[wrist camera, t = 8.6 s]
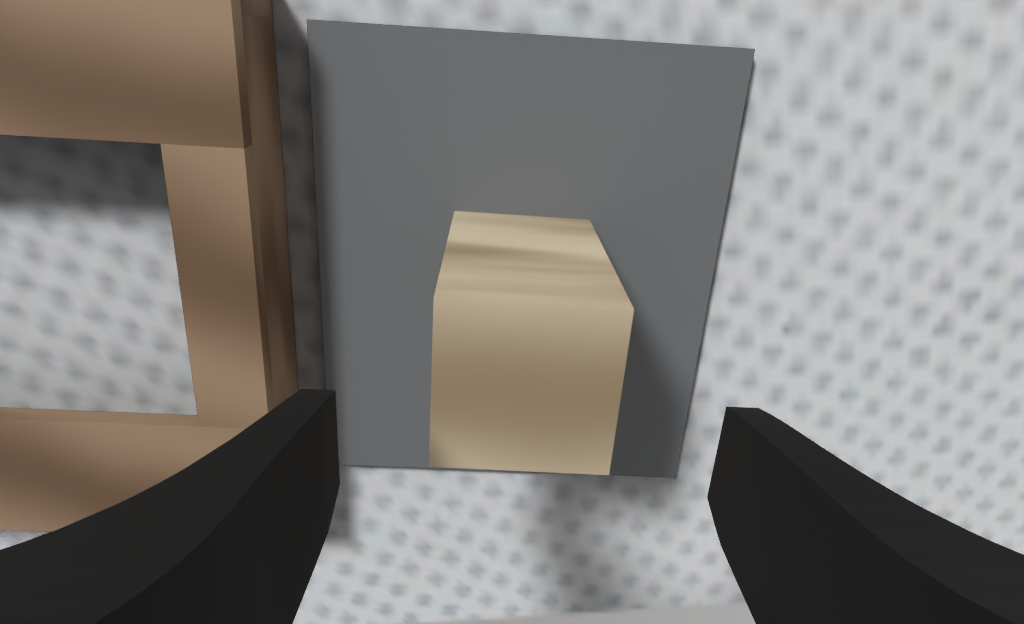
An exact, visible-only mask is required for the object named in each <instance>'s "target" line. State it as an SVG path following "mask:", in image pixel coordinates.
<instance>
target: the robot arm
mask: <svg viewBox="0 0 1024 624" xmlns="http://www.w3.org/2000/svg"><path fill="white" fill-rule="evenodd" d="M339 485H340V478H339V456H338V433H337V411H336V390H316V389H301V390H299V391H298V392H296V393H295V394H293V395H292V396H290V397H289V398H287V399H286V400H285V401H283V402H282V403H281V404H279V405H278V406H276V407H275V408H274V409H272V410H271V411H270V412H268V413H267V414H265V415H264V416H263V417H261V418H260V419H259V420H257V421H256V422H254V423H253V424H251V425H250V426H249V427H247V428H246V429H244V430H243V431H242V432H240V433H239V434H237V435H236V436H235V437H233V438H232V439H230V440H229V441H227V442H226V443H224V444H222V445H221V446H219V447H218V448H216V449H215V450H213V451H211V452H210V453H208V454H207V455H205V456H204V457H202V458H200V459H199V460H197V461H196V462H194V463H193V464H191V465H189V466H188V467H186V468H185V469H183V470H181V471H179V472H178V473H176V474H174V475H172V476H171V477H169V478H167V479H165V480H163V481H162V482H160V483H158V484H156V485H154V486H152V487H150V488H148V489H146V490H144V491H142V492H140V493H138V494H136V495H135V496H133V497H131V498H129V499H126V500H124V501H122V502H120V503H118V504H116V505H113V506H111V507H109V508H106V509H104V510H102V511H99V512H97V513H95V514H93V515H90V516H88V517H86V518H83V519H81V520H79V521H76V522H74V523H72V524H69V525H67V526H65V527H62V528H60V529H57V530H55V531H52V532H50V533H47V534H44V535H41V536H39V537H36V538H33V539H31V540H28V541H25V542H23V543H20V544H17V545H14V546H11V547H8V548H5V549H2V550H0V624H292V623H293V621H294V618H295V616H296V613H297V611H298V608H299V606H300V603H301V601H302V598H303V595H304V593H305V590H306V588H307V585H308V583H309V580H310V578H311V575H312V573H313V570H314V568H315V565H316V562H317V560H318V557H319V555H320V552H321V549H322V547H323V544H324V542H325V539H326V536H327V534H328V530H329V526H330V523H331V519H332V515H333V511H334V507H335V502H336V498H337V494H338V489H339ZM707 498H708V501H709V505H710V509H711V513H712V516H713V520H714V524H715V527H716V530H717V534H718V537H719V540H720V543H721V546H722V549H723V551H724V553H725V556H726V558H727V560H728V563H729V565H730V567H731V569H732V572H733V574H734V576H735V578H736V581H737V583H738V585H739V587H740V590H741V592H742V594H743V596H744V598H745V601H746V603H747V605H748V607H749V609H750V612H751V614H752V616H753V618H754V620H755V623H756V624H1024V555H1023V554H1020V553H1018V552H1015V551H1013V550H1011V549H1008V548H1006V547H1004V546H1001V545H999V544H996V543H994V542H992V541H990V540H987V539H985V538H983V537H981V536H979V535H976V534H974V533H972V532H970V531H968V530H966V529H964V528H962V527H960V526H958V525H956V524H954V523H952V522H950V521H948V520H946V519H944V518H942V517H940V516H938V515H936V514H934V513H932V512H930V511H928V510H926V509H924V508H922V507H920V506H918V505H916V504H914V503H913V502H911V501H909V500H907V499H905V498H904V497H902V496H900V495H898V494H897V493H895V492H893V491H892V490H890V489H888V488H886V487H885V486H883V485H881V484H880V483H878V482H876V481H874V480H873V479H871V478H869V477H868V476H866V475H865V474H863V473H861V472H860V471H858V470H856V469H855V468H853V467H852V466H850V465H848V464H847V463H845V462H844V461H842V460H841V459H839V458H838V457H836V456H834V455H833V454H831V453H830V452H828V451H827V450H825V449H824V448H822V447H821V446H819V445H818V444H816V443H815V442H813V441H812V440H810V439H808V438H807V437H805V436H804V435H802V434H801V433H799V432H798V431H796V430H795V429H793V428H792V427H790V426H789V425H787V424H785V423H784V422H782V421H781V420H779V419H777V418H776V417H774V416H772V415H771V414H769V413H767V412H765V411H763V410H761V409H759V408H742V407H726V411H725V416H724V421H723V425H722V430H721V435H720V440H719V444H718V449H717V454H716V459H715V463H714V468H713V473H712V478H711V482H710V487H709V492H708V497H707Z"/></svg>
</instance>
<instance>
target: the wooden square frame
mask: <svg viewBox="0 0 1024 624" xmlns="http://www.w3.org/2000/svg"><path fill="white" fill-rule="evenodd" d="M0 135H16V136H34V137H51V138H68V139H86V140H103V141H120V142H138V143H155V144H160V145H161V152H162V159H163V167H164V174H165V181H166V189H167V196H168V203H169V211H170V218H171V225H172V232H173V240H174V247H175V254H176V262H177V269H178V276H179V284H180V291H181V298H182V306H183V313H184V320H185V328H186V335H187V342H188V350H189V357H190V364H191V372H192V379H193V386H194V393H195V401H196V408H197V415H176V414H152V413H128V412H103V411H79V410H55V409H30V408H6V407H0V530H17V531H47V532H52V531H55V530H57V529H60V528H62V527H65V526H67V525H69V524H72V523H74V522H76V521H79V520H81V519H83V518H86V517H88V516H90V515H93V514H95V513H97V512H99V511H102V510H104V509H106V508H109V507H111V506H113V505H116V504H118V503H120V502H122V501H124V500H126V499H129V498H131V497H133V496H135V495H136V494H138V493H140V492H142V491H144V490H146V489H148V488H150V487H152V486H154V485H156V484H158V483H160V482H162V481H163V480H165V479H167V478H169V477H171V476H172V475H174V474H176V473H178V472H179V471H181V470H183V469H185V468H186V467H188V466H189V465H191V464H193V463H194V462H196V461H197V460H199V459H200V458H202V457H204V456H205V455H207V454H208V453H210V452H211V451H213V450H215V449H216V448H218V447H219V446H221V445H222V444H224V443H226V442H227V441H229V440H230V439H232V438H233V437H235V436H236V435H237V434H239V433H240V432H242V431H243V430H244V429H246V428H247V427H249V426H250V425H251V424H253V423H254V422H256V421H257V420H259V419H260V418H261V417H263V416H264V415H265V414H267V413H268V412H270V411H271V410H272V409H274V408H275V407H276V406H278V405H279V404H281V403H282V402H283V401H285V400H286V399H287V398H289V397H290V396H292V395H293V394H295V393H296V392H298V391H299V389H298V374H297V360H296V345H295V331H294V316H293V302H292V287H291V273H290V258H289V244H288V229H287V215H286V200H285V186H284V171H283V157H282V142H281V128H280V113H279V99H278V84H277V70H276V55H275V41H274V26H273V12H272V0H0Z"/></svg>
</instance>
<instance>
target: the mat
mask: <svg viewBox="0 0 1024 624" xmlns="http://www.w3.org/2000/svg"><path fill="white" fill-rule="evenodd" d="M307 35H308V55H309V74H310V93H311V113H312V132H313V152H314V171H315V191H316V210H317V230H318V249H319V269H320V288H321V308H322V327H323V347H324V366H325V386H326V390H336V411H337V433H338V456H339V465H360V466H386V467H412V468H438V469H464V470H487V469H466V468H445V467H429V440H430V405H431V370H432V335H433V300H434V294H435V290H436V285H437V281H438V277H439V273H440V269H441V265H442V260H443V256H444V252H445V248H446V244H447V240H448V236H449V231H450V227H451V223H452V219H453V215H454V211H464V212H479V213H495V214H510V215H525V216H541V217H556V218H572V219H587V220H590V221H591V223H592V225H593V227H594V229H595V232H596V234H597V236H598V238H599V240H600V242H601V244H602V246H603V248H604V250H605V252H606V254H607V256H608V258H609V260H610V262H611V264H612V266H613V268H614V270H615V272H616V274H617V276H618V278H619V280H620V282H621V284H622V286H623V288H624V290H625V292H626V294H627V296H628V298H629V300H630V302H631V304H632V306H633V308H634V314H633V321H632V327H631V334H630V340H629V347H628V354H627V360H626V367H625V373H624V380H623V386H622V393H621V399H620V406H619V413H618V419H617V426H616V432H615V439H614V445H613V452H612V459H611V465H610V472H609V475H621V476H647V477H673V478H675V477H676V472H677V466H678V461H679V456H680V450H681V445H682V440H683V434H684V429H685V423H686V418H687V413H688V407H689V402H690V396H691V391H692V386H693V380H694V375H695V370H696V364H697V359H698V353H699V348H700V343H701V337H702V332H703V326H704V321H705V316H706V310H707V305H708V300H709V294H710V289H711V283H712V278H713V273H714V267H715V262H716V256H717V251H718V246H719V240H720V235H721V229H722V224H723V219H724V213H725V208H726V203H727V197H728V192H729V186H730V181H731V176H732V170H733V165H734V159H735V154H736V149H737V143H738V138H739V133H740V127H741V122H742V116H743V111H744V106H745V100H746V95H747V89H748V84H749V79H750V73H751V68H752V62H753V57H754V52H755V49H747V48H731V47H716V46H701V45H686V44H671V43H656V42H641V41H625V40H610V39H595V38H580V37H565V36H550V35H535V34H519V33H504V32H489V31H474V30H459V29H444V28H429V27H413V26H398V25H383V24H368V23H353V22H338V21H323V20H308V19H307ZM491 471H508V470H491ZM517 472H530V471H517ZM543 473H551V472H543ZM569 474H572V473H569Z"/></svg>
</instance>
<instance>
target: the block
mask: <svg viewBox="0 0 1024 624" xmlns="http://www.w3.org/2000/svg"><path fill="white" fill-rule="evenodd" d="M633 314H634V308H633V306H632V304H631V302H630V300H629V298H628V296H627V294H626V292H625V290H624V288H623V286H622V284H621V282H620V280H619V278H618V276H617V274H616V272H615V270H614V268H613V266H612V264H611V262H610V260H609V258H608V256H607V254H606V252H605V250H604V248H603V246H602V244H601V242H600V240H599V238H598V236H597V234H596V232H595V229H594V227H593V225H592V223H591V221H590V220H587V219H572V218H556V217H541V216H525V215H510V214H495V213H479V212H464V211H454V215H453V219H452V223H451V227H450V231H449V236H448V240H447V244H446V248H445V252H444V256H443V260H442V265H441V269H440V273H439V277H438V281H437V285H436V290H435V294H434V300H433V335H432V370H431V405H430V440H429V467H445V468H466V469H487V470H508V471H530V472H551V473H572V474H593V475H609V472H610V465H611V459H612V452H613V445H614V439H615V432H616V426H617V419H618V413H619V406H620V399H621V393H622V386H623V380H624V373H625V367H626V360H627V354H628V347H629V340H630V334H631V327H632V321H633Z"/></svg>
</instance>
